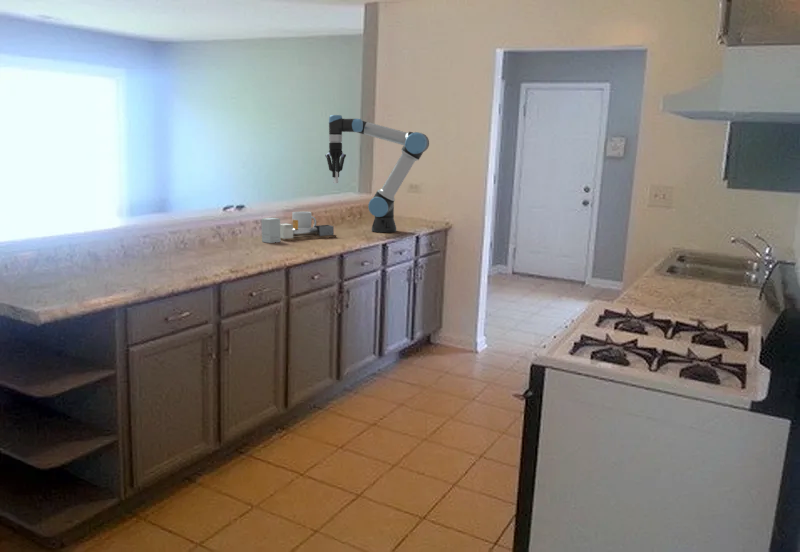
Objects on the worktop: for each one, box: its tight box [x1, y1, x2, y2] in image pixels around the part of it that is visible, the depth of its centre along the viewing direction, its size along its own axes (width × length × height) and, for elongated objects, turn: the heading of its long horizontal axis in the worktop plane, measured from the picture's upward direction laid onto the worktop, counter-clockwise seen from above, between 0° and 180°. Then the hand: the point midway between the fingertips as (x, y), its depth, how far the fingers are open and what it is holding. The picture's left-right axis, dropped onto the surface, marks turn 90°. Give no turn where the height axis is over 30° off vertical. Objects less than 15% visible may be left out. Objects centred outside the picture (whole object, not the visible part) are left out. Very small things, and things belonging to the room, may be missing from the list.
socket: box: [280, 223, 293, 239], centre depth 370 cm, size 5×8×7 cm
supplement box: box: [260, 217, 282, 244], centre depth 362 cm, size 7×7×13 cm
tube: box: [292, 220, 318, 236], centre depth 375 cm, size 18×4×9 cm, turn 125°
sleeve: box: [313, 224, 335, 236], centre depth 383 cm, size 9×7×5 cm
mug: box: [292, 211, 317, 228], centre depth 392 cm, size 15×11×13 cm
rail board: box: [281, 234, 337, 242], centre depth 378 cm, size 32×9×1 cm, turn 125°
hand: (335, 182), depth 398 cm, fingers closed
